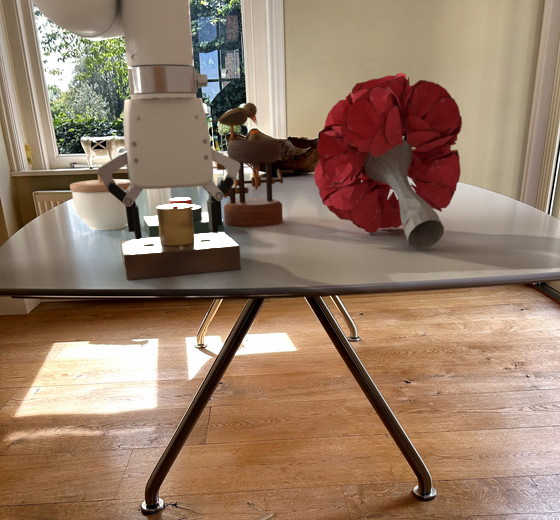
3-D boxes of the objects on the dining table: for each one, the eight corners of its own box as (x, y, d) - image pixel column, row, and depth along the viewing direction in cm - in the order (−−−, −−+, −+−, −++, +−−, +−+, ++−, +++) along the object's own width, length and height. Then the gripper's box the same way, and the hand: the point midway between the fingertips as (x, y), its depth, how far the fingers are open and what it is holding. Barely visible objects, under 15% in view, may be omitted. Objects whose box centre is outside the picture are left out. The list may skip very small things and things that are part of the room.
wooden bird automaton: (227, 230, 100) (215, 100, 94) (209, 226, 110) (198, 108, 103) (309, 222, 105) (304, 98, 99) (285, 219, 115) (279, 106, 108)
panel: (127, 280, 71) (123, 253, 70) (122, 262, 80) (119, 239, 79) (240, 269, 75) (239, 244, 74) (224, 253, 84) (223, 230, 82)
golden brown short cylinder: (158, 240, 78) (154, 202, 76) (192, 238, 79) (189, 200, 77) (161, 247, 74) (157, 207, 72) (197, 244, 75) (193, 204, 73)
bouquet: (482, 283, 91) (419, 167, 109) (534, 143, 72) (447, 30, 90) (344, 302, 89) (303, 181, 106) (361, 163, 70) (307, 44, 87)
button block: (150, 240, 95) (147, 214, 93) (144, 229, 103) (142, 206, 102) (224, 234, 98) (222, 209, 96) (212, 224, 106) (211, 201, 105)
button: (171, 212, 97) (170, 201, 96) (169, 209, 100) (168, 198, 100) (193, 210, 98) (192, 199, 97) (190, 207, 101) (189, 197, 100)
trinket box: (94, 235, 99) (85, 176, 96) (66, 228, 107) (57, 173, 103) (150, 226, 106) (144, 171, 102) (120, 220, 113) (113, 168, 110)
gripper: (228, 86, 75) (236, 225, 81) (85, 88, 70) (105, 234, 77) (242, 83, 68) (249, 234, 75) (85, 85, 64) (107, 245, 70)
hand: (176, 234), depth 76 cm, fingers open, 9 cm apart
